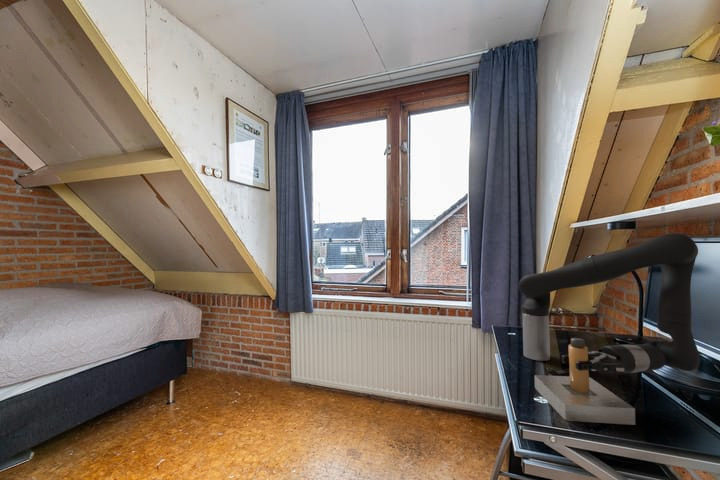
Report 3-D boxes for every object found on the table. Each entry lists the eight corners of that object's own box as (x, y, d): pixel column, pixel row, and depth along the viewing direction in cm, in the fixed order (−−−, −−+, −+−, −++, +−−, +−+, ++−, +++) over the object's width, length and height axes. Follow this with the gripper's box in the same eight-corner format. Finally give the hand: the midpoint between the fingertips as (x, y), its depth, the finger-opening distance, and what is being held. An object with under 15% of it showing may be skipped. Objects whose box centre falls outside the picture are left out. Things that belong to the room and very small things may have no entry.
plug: (566, 385, 87) (564, 337, 88) (583, 386, 87) (581, 337, 87) (575, 393, 83) (573, 341, 83) (593, 393, 82) (590, 342, 83)
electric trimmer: (590, 377, 102) (590, 368, 102) (554, 383, 98) (553, 373, 98) (579, 373, 106) (579, 364, 106) (544, 378, 102) (544, 368, 102)
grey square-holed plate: (534, 387, 95) (534, 374, 95) (590, 390, 93) (590, 377, 93) (565, 420, 77) (565, 404, 77) (635, 424, 75) (634, 408, 75)
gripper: (600, 338, 94) (550, 341, 92) (649, 354, 80) (591, 358, 78) (601, 362, 94) (551, 366, 92) (650, 382, 79) (592, 387, 77)
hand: (570, 362), depth 85 cm, fingers closed on plug, 4 cm apart
